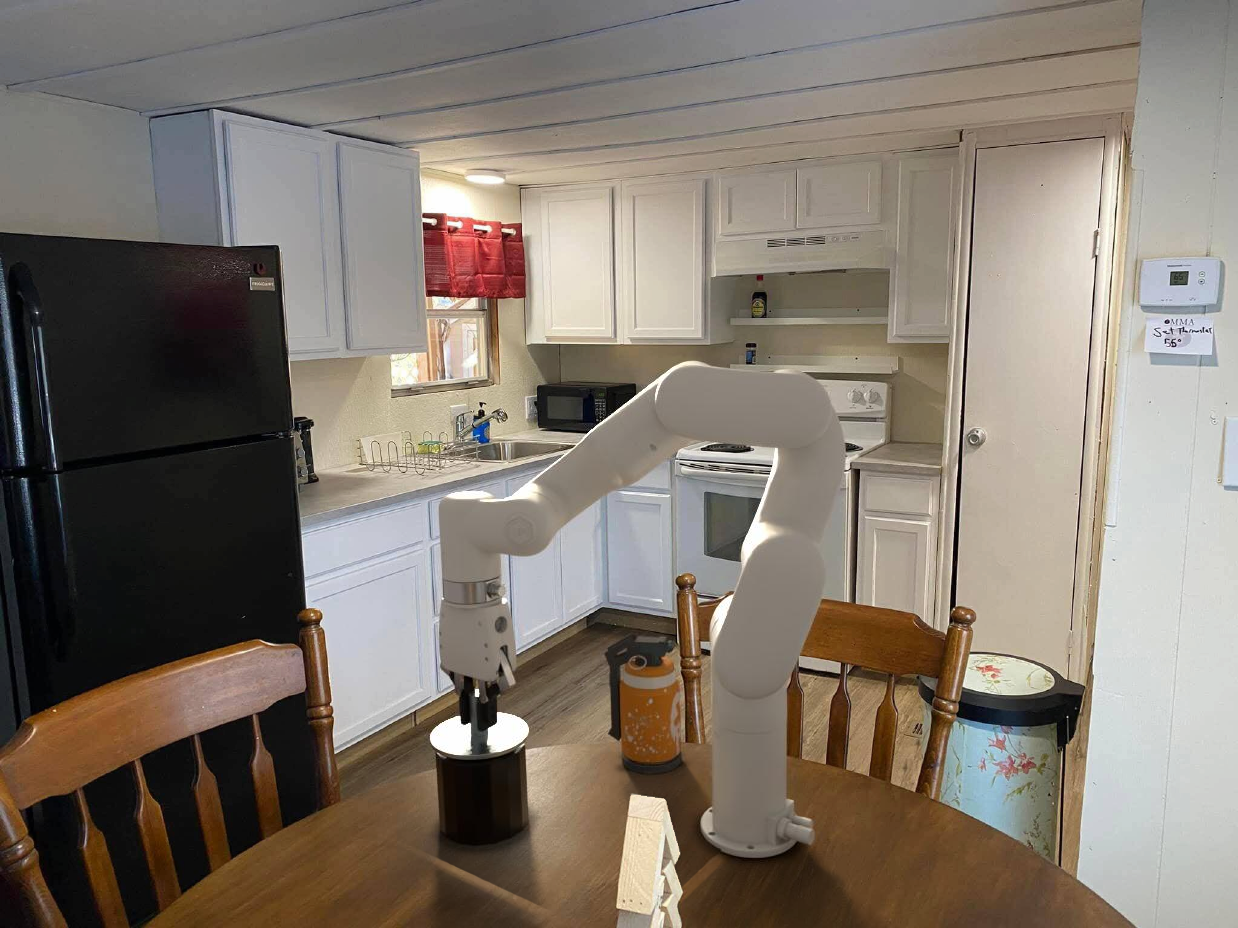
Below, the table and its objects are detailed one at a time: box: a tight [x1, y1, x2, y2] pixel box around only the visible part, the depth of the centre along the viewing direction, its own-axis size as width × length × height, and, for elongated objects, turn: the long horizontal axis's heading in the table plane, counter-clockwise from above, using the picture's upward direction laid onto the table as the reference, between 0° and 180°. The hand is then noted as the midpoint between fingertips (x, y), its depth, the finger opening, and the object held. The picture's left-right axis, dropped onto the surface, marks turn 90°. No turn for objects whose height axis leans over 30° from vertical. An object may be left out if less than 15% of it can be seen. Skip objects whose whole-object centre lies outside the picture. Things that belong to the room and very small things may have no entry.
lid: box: [429, 688, 530, 760], centre depth 119 cm, size 13×13×7 cm
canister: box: [603, 632, 682, 774], centre depth 136 cm, size 9×11×20 cm
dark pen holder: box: [434, 741, 530, 847], centre depth 121 cm, size 12×12×12 cm
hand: (479, 723), depth 119 cm, fingers closed on lid, 2 cm apart
